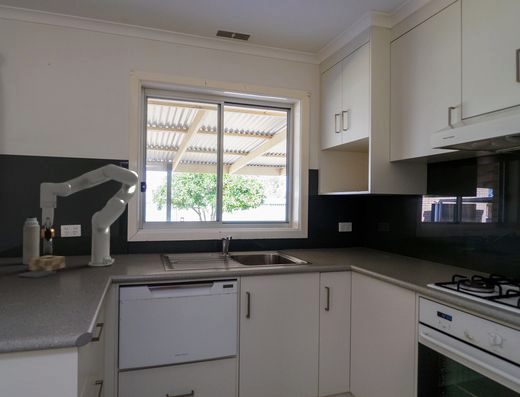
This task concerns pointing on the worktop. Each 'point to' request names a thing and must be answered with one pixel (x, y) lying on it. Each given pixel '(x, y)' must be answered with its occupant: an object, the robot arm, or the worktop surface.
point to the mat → (36, 274)
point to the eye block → (47, 263)
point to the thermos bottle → (30, 239)
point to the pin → (48, 243)
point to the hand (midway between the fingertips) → (48, 237)
